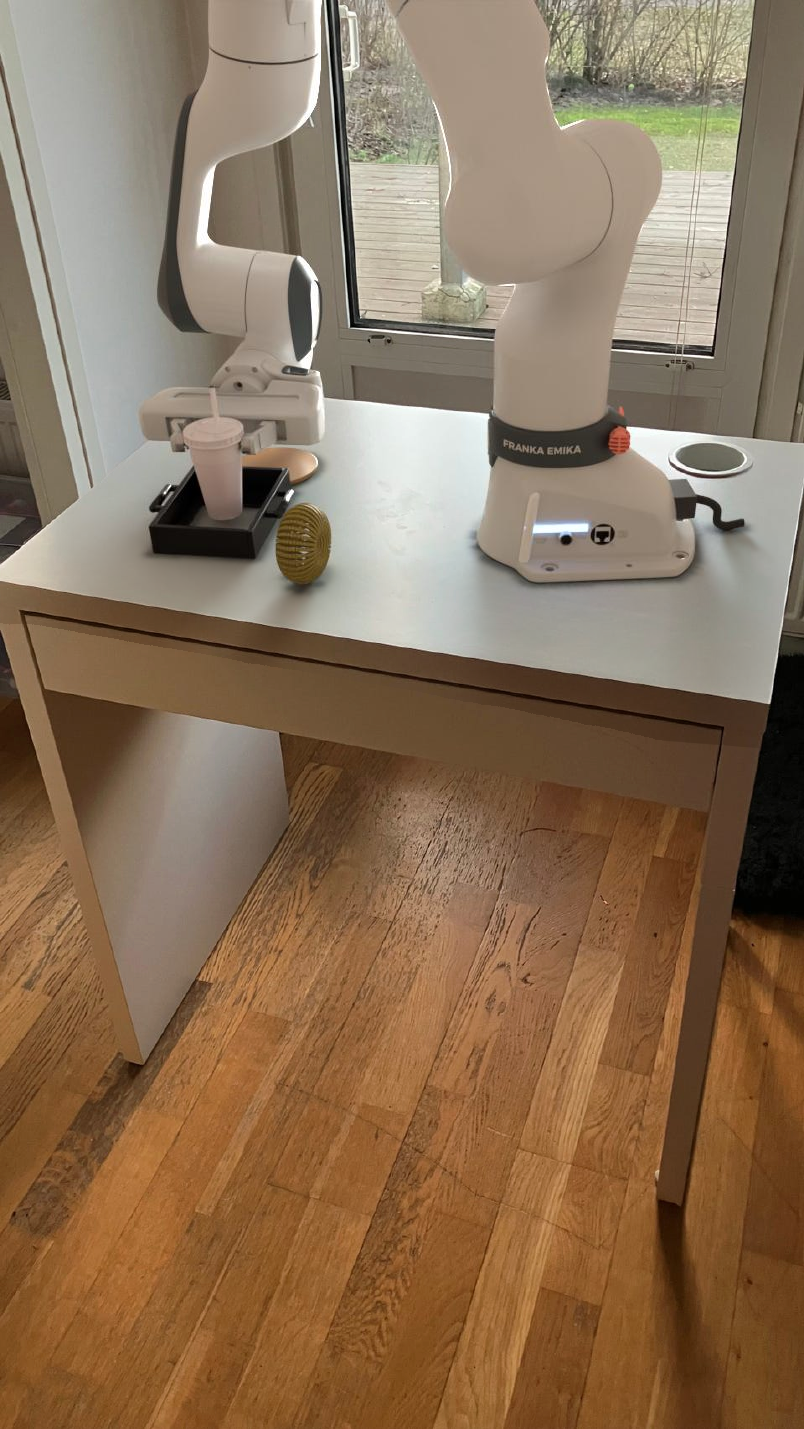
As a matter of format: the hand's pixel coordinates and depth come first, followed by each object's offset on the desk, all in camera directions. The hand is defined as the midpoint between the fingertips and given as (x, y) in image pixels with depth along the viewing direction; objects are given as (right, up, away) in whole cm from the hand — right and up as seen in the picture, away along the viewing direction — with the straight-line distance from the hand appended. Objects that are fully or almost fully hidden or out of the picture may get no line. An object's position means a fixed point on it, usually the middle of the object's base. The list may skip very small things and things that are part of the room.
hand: (212, 447), depth 124 cm
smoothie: (0, -6, +6) cm, 8 cm away
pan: (0, -7, +6) cm, 9 cm away
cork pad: (+5, +1, +17) cm, 18 cm away
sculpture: (+10, -14, -4) cm, 18 cm away
